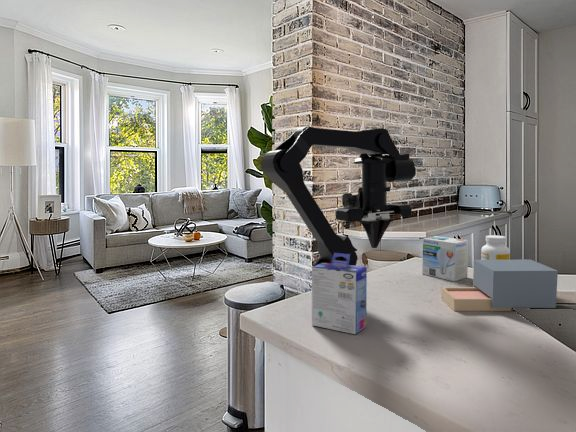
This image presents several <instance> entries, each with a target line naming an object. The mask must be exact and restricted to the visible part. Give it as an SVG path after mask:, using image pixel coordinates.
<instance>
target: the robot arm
mask: <svg viewBox="0 0 576 432" xmlns="http://www.w3.org/2000/svg"><path fill="white" fill-rule="evenodd" d="M312 147H322V148H335V149H336V148H337V149H339V148H340V149H348V150H352V151H353V152H356V153H359V156H358V157H356V159H355V160H353V163H354V165H361V187H358V190H357V194H352V193H351V192H349V193H348V192H346V193H343V194H342V195H341V198H342V199H341V203H342V206H343V207H338V208H337V209H336V210H335V220H338V221H343V222H347V223H348V222H351V223H352V222H357V223H358V222H359V223H360V225H362V227H363V229H364V230H365V232H366V236H367V238H368V241H369V244H370V246H371V248H373V249H377V248H378V246H379V244H380V242H381V241H382V238H383V236H384V234H385V233H386V230H387V229H388V227H389V226H390V224H391V223H393V222H394V219H393V218H390V217H391V216H390V215H399V216H400V217H402V218H406V217H412V213H413V210H412V207H411V206H410V204H405V203H388V201H387V198H388V197H387V196H388V193H387V192H391V186H387V183H402V182H405V183H406V182H411V181H412V180H413V179H414V177H415V175H416V169H417V168H416V166H415V164H414V162H413V160H412V159H410V154H409V153H400V151H399V150H398V148H397V146H396V144H395V143H394V141H393V139H392V138H391V134H390V132H389V130H388V129H386V128H383V127H379V128H372V129H365V130H357V131H354V130H344V129H343V130H341V129H331V128H320V127H313V126H303V127H298V128H297V129H296V130H294V132H293V133H291V135H290V136H289V137H288V138H286V139H284V141H282V142H281V143H280V144H279V145H277V147H275V148H274V150H270V151H267V152H266V153H265V154H264V155H263V156H262V158H261V163H260V168H261V171H262V173H263V174H264V175H265V176H266V177H267V178H268V179H269V180H270V181H271V182H272V183H273V184H274V185H276V187H277V188H279V189H280V190H281V191H282V192H284V193H285V194H286V196H287V198H288V199H289V201H290V202H291V203H292V206H293V207H294V208H295V210H296V212H297V213H298V214H299V217H300V218H301V219H302V220H303V223H304V224H305V226H306V227H307V229H308V230H309V232H310V233H311V235H312V236H313V238H314V239H315V241H316V243H317V244H316V245H317V252H318V255H319V258H318V259H317V261H316V262H315V263H314V265H313V266H316V265H318V264H321V263H331V262H332V258H333V255H334V253H343V254H350V260H349V265H354V266H357V263H358V259H359V257H358V254H357V251H358V249H357V248H356V247H355V246H354V245H353V243H352V240H351V238H350V237H349V236H348V235H342V234H338V233H336V231H335V230H334V229H333V227H332V225H331V224H330V221H328V219H327V218H326V216H325V214H324V213H323V211H322V210H321V207H320V206H319V205H318V203H317V201H316V200H315V198H314V196H313V195H312V193H311V191H310V190H309V188H308V187H307V185H306V183H305V180H304V171H303V168H302V166H301V163H302V161H303V160H304V159H305V158H306V156H307V154H308V153H309V151H310V149H311V148H312ZM335 260H340V261H346V260H347V259H346V258H344V257H336V258H335Z"/></svg>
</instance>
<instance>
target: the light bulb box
mask: <svg viewBox="0 0 576 432" xmlns="http://www.w3.org/2000/svg"><path fill="white" fill-rule="evenodd" d="M421 264H422V265H421V267H422V268H421V269H422V271H421V274H422V275H425V276H430V277H433V278H434V277H435V278H436V279H437V278H438V279H443V280H446V281H447V280H448V281H451V282H457V281H461V280H465V279H467V278H468V269H469V268H468V265H469V240H468V239H461V238H453V237H445V236H441V235H440V236H438V235H433V236H430V237H425V238H424V237H423V239H422V263H421ZM460 279H461V280H460Z"/></svg>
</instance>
